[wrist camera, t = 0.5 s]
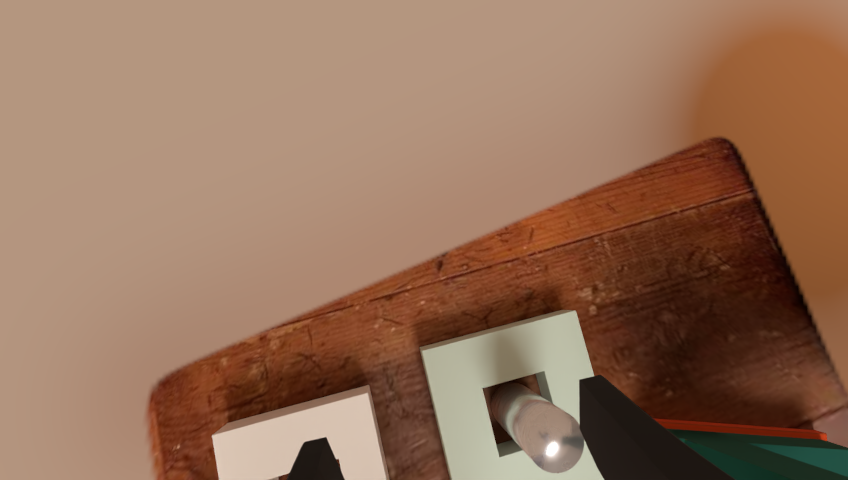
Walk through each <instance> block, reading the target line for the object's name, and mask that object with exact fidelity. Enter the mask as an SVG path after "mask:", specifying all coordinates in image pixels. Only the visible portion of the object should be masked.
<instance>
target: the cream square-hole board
mask: <svg viewBox="0 0 848 480" xmlns="http://www.w3.org/2000/svg"><path fill="white" fill-rule="evenodd" d="M324 437H326V438H327V440H328V442H329V444H330V447H331V449H332V451H333V454H334V456H335V458H336V459H339V462H340V467H341V472H342V474H343V477H344V479H345V480H390V479H389V474H388V470H387V465H386V460H385V456H384V451H383V446H382V442H381V437H380V432H379V428H378V423H377V418H376V414H375V409H374V405H373V400H372V395H371V391H370V386H369V385H366V386H362V387H359V388H355V389H351V390H348V391H344V392H340V393H336V394H333V395H329V396H325V397H322V398H318V399H314V400H311V401H307V402H303V403H300V404H296V405H292V406H288V407H285V408H281V409H277V410H274V411H270V412H266V413H263V414H259V415H255V416H251V417H248V418H244V419H240V420H237V421H233V422H229V423H227V424H226V425H224V426H223V427H222V428H221V429H219V430H218V431H217V432H216V433H214V434H213V435H212V439H213V445H214V451H215V457H216V463H217V469H218V475H219V480H279V477H278V476H282V475H285V474H288V473H290V471H291V469H292V466H293V464H294V462H295V460H296V457H297V455H298V453H299V451H300V448H301V446H302V445H303V443H304V442H306V441H310V440H315V439H319V438H324Z"/></svg>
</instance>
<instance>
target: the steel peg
mask: <svg viewBox="0 0 848 480" xmlns="http://www.w3.org/2000/svg"><path fill="white" fill-rule="evenodd" d="M491 410H492V414H493V416H494V418H495V420H496V421H497V422H498V423H499V424H500V425H501V426H502V427H503V429H504V430H505V431H506V432H507V433H508V434H509V435H510V436H511V437H512V438H513V440H514V441H515V442H516V443H517V444H518V445H519V446H520V447H521V448H522V450H523V451H524V452H525V453H526V454H527V455H528V456H529V457H530V458H531V459H532V461H533V462H534V463H535V464H536V465H537V466H538V467H540V468H541V469H542V470H544V471H547V472H550V473H562V472H565V471H568V470H570V469H571V468H572V467H574V466H575V465H576V464H577V462H578V461H579V459H580V458H581V455H582V453H583V449H584V438H583V435H582V433H581V431H580V425H579V423H578V422H577V421H576V419H575V418H574V417H573V416H571V415H570V414H568V413H567V412H565V411H564V410H562V409H560V408H559V407H557V406H556V405H554V404H552V403H551V402H549V401H548V400H546V399H544V398H543V397H541V396H540V395H538V394H537V393H535V392H533V391H532V390H530V389H529V388H527V387H525V386H524V385H522V384H520V383H517V382H508V383H505V384H503V385H501V386H500V387H498V388H497V390H496V391H495V392H494V394H493V396H492V400H491Z"/></svg>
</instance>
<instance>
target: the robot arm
mask: <svg viewBox="0 0 848 480" xmlns="http://www.w3.org/2000/svg"><path fill="white" fill-rule="evenodd" d="M579 417H580V431H581V433H582V435H583V438H584V440H585V442H586V444H587V447H588V449H589V451H590V453H591V455H592V458H593V460H594V462H595V464H596V466H597V468H598V470H599V471H600V473H601V475H602V477H603V478H604V480H736V479H734V478H733V477H731V476H730V475H728V474H727V473H725V472H724V471H722V470H721V469H720V468H718V467H717V466H715V465H714V464H713V463H711V462H710V461H708V460H707V459H706V458H704V457H703V456H701V455H700V454H699V453H697V452H696V451H695V450H693V449H692V448H691V447H689V446H688V445H687V444H685V443H684V442H683V441H681V440H680V439H679V438H677V437H676V436H675V435H674V434H672V433H671V432H670V431H668V430H667V429H666V428H665V427H663V426H662V425H661V424H659V423H658V422H657V421H656V420H654V419H653V418H652V417H651V416H649V415H648V414H647V413H646V412H645V411H643V410H642V409H641V408H640V407H638V406H637V405H636V404H635V403H634V402H632V401H631V400H630V399H629V398H628V397H627V396H625V395H624V394H623V393H622V392H621V391H619V390H618V389H617V388H616V387H615V386H614V385H612V384H611V383H610V382H609V381H608V380H607V379H605V378H604V377H603V376H601V375H597V376H593V377H589V378H584V379H580V380H579ZM286 480H345V479H344V477H343V474H342V472H341V470H340V467H339V465H338V463H337V461H336V458H335V456H334V454H333V451H332V449H331V447H330V444H329V442H328V440H327V438H326V437H324V438H319V439H315V440H310V441H306V442H304V443H303V445H302V446H301V448H300V451H299V453H298V455H297V457H296V460H295V462H294V464H293V466H292V469H291V471H290V473H289V475H288V477H287V479H286Z"/></svg>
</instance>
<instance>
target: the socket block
mask: <svg viewBox="0 0 848 480" xmlns="http://www.w3.org/2000/svg"><path fill="white" fill-rule="evenodd" d="M419 348H420V353H421V357H422V361H423V365H424V370H425V374H426V378H427V383H428V387H429V391H430V396H431V400H432V404H433V408H434V413H435V417H436V421H437V426H438V430H439V434H440V438H441V443H442V447H443V451H444V456H445V460H446V464H447V469H448V473H449V477H450V480H604V478H603V477H602V475H601V473H600V471H599V470H598V468H597V466H596V464H595V462H594V460H593V458H592V455H591V453H590V451H589V449H588V447H587V444H586V442H585V440H584V449H583V453H582V455H581V458H580V459H579V461H578V462H577V464H576V465H575V466H574V467H572V468H571V469H570V470H568V471H565V472H562V473H550V472H547V471H544V470H542V469H541V468H540V467H538V466H537V465H536V464H535V463H534V462H533V461H532V459H531V458H530V457H529V456H528V455H527V454H526V453H525V452H524V451H523V450H522V448H521V447H520V446H519V445H518V444H517V443H516V442H515V441H514V440H510V441H506V442H503V443H500V444H497V445H496V442H495V438H494V434H493V430H492V426H491V422H490V417H489V413H488V409H487V405H486V401H485V397H484V393H483V389H482V388H485V387H489V386H493V385H496V384H500V383H503V382H507V381H510V380H514V379H517V378H521V377H524V376H528V375H531V374H536V378H537V381H538V385H539V389H540V393H541V396H542V397H543V398H544V399H546V400H548V401H549V402H551V403H552V404H554V405H556V406H557V407H559V408H560V409H562V410H564V411H565V412H567V413H568V414H570V415H571V416H573V417H574V418H575V419H576V421H577V422H578V423H579V425H580V417H579V380H580V379H584V378H589V377H593V376H594V373H593V370H592V366H591V363H590V359H589V356H588V352H587V349H586V345H585V342H584V338H583V335H582V331H581V328H580V324H579V321H578V317H577V314H576V310H560V311H556V312H552V313H548V314H544V315H541V316H537V317H533V318H529V319H525V320H522V321H518V322H514V323H510V324H506V325H502V326H499V327H495V328H491V329H487V330H483V331H480V332H476V333H472V334H468V335H464V336H461V337H457V338H453V339H449V340H445V341H441V342H438V343H434V344H430V345H426V346H422V347H419Z"/></svg>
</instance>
